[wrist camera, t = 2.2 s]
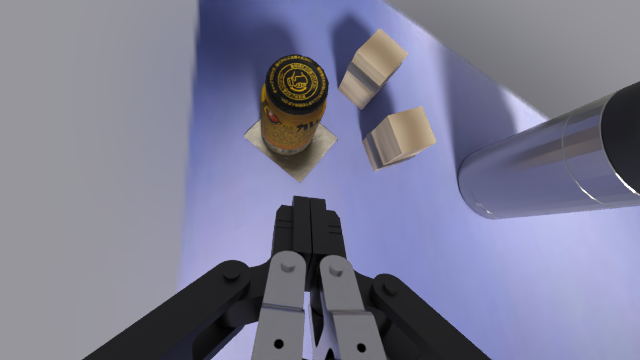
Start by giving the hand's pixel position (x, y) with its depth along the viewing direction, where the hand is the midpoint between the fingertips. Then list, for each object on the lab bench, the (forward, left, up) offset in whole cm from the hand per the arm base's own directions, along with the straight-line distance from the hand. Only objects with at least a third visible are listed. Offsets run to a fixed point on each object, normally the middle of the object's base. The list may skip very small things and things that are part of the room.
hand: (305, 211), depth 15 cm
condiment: (-8, -8, -20) cm, 23 cm away
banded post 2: (-16, 0, -20) cm, 25 cm away
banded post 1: (-19, -8, -20) cm, 28 cm away
